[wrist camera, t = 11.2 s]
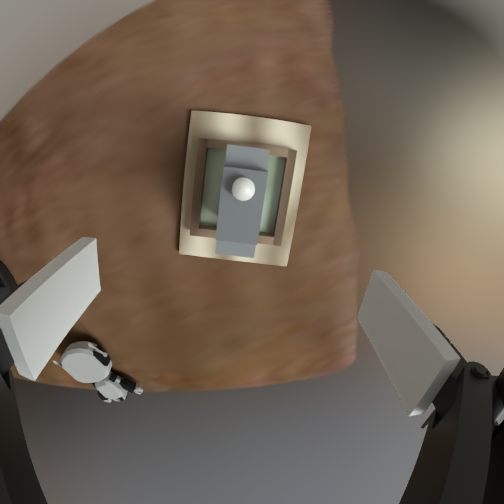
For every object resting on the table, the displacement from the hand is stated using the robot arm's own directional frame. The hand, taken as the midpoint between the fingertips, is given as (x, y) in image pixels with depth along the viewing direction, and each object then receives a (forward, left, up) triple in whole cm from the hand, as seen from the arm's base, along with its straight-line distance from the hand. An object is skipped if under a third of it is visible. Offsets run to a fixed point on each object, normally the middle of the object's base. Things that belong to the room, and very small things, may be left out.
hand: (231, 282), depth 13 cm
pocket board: (0, 0, -24) cm, 24 cm away
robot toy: (-22, -34, -24) cm, 47 cm away
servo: (0, 0, -23) cm, 23 cm away
